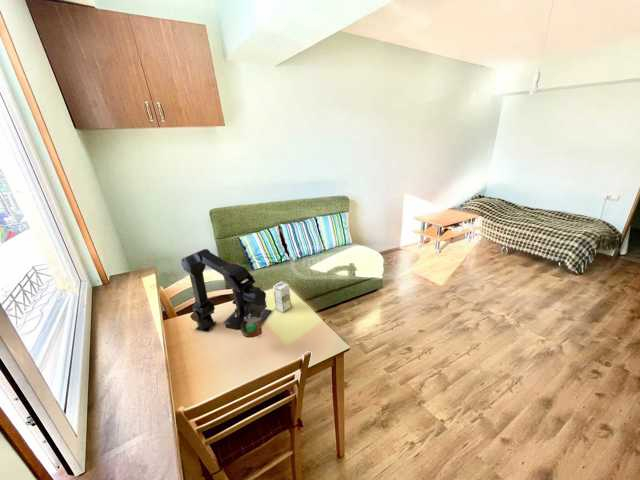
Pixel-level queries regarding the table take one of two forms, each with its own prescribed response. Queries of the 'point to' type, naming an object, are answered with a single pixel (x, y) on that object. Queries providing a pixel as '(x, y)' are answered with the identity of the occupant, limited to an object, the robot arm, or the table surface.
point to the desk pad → (261, 315)
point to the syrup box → (282, 296)
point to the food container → (252, 326)
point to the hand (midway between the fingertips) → (248, 328)
